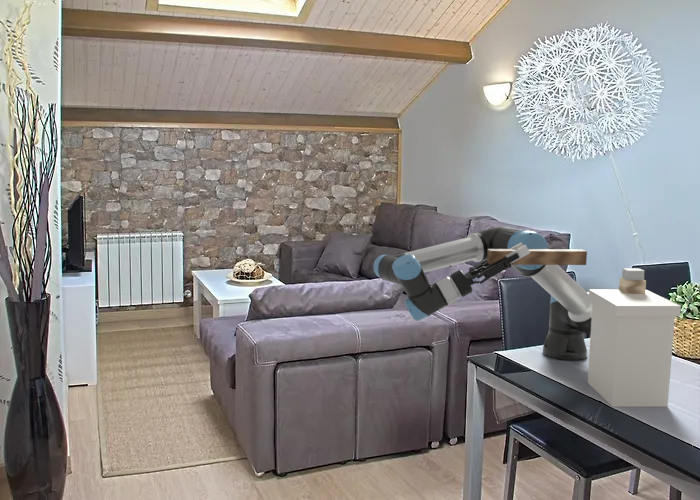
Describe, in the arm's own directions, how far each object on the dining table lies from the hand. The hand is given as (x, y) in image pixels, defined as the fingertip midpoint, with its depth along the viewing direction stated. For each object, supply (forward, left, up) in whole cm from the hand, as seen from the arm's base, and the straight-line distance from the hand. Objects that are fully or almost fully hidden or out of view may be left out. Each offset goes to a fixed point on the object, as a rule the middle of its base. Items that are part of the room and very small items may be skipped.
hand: (525, 247), depth 198 cm
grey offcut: (+18, +32, -11) cm, 38 cm away
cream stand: (+21, +24, -45) cm, 55 cm away
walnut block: (+2, +2, -5) cm, 6 cm away
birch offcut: (+18, +32, -15) cm, 39 cm away
